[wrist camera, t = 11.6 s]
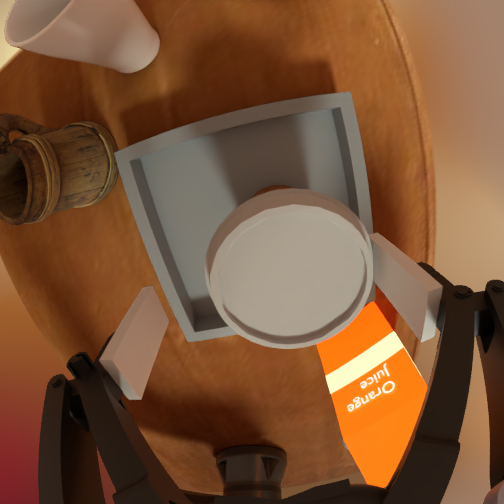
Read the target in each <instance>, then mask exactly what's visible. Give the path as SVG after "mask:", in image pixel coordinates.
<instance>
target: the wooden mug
mask: <svg viewBox="0 0 504 504" xmlns="http://www.w3.org/2000/svg"><path fill="white" fill-rule="evenodd" d="M11 131H16V132H17V133H19V134H21V135H22V136H21V137H18V138H16V139H14V140H13V142H12V144H11V143H10V140H9V137H8V133H9V132H11ZM117 151H118V148H117V145H116V143H115V141H114V139H113V137H112V136H111V135H110V133H109V132H108V131H107V130H106V129H105V128H103V127H102V126H101V125H100V124H97V123H94V122H91V121H83V122H76V123H72V124H69V125H66V126H64V127H62V128H61V129H60V130H59V129H50V128H45V127H43V126H41V125H38V124H36V123H34V122H32V121H30V120H28V119H26V118H23V117H21V116H18V115H14V114H7V113H6V114H0V218H1V219H2V220H3V221H5V222H6V223H9V224H11V225H20V224H23V223H25V224H32V223H37V222H41V221H43V220H44V219H46V218H48V217H49V215H50V214H52V213H55V212H58V211H62V210H65V209H69V208H80V207H86V206H89V205H93V204H96V203H98V202H100V201H101V200H103V199H104V198H105V197H106V196H107V195H108V194H109V193H110V191H111V190H112V188H113V186H114V184H115V183H116V181H117V176H118V172H119V169H118V166H117V162H116V159H115V155H114V153H115V152H117Z"/></svg>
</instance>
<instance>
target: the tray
mask: <svg viewBox="0 0 504 504" xmlns="http://www.w3.org/2000/svg"><path fill="white" fill-rule="evenodd" d="M114 155H115V159H116V162H117V166H118V169H119V172H120V176H121V179H122V182H123V185H124V188H125V191H126V194H127V197H128V200H129V203H130V206H131V209H132V212H133V215H134V218H135V221H136V223H137V226H138V229H139V231H140V234H141V237H142V239H143V242H144V245H145V247H146V250H147V252H148V255H149V257H150V260H151V262H152V265H153V267H154V269H155V272H156V274H157V277H158V279H159V281H160V284H161V286H162V288H163V290H164V293H165V295H166V297H167V299H168V302H169V304H170V306H171V308H172V310H173V312H174V314H175V317H176V319H177V321H178V323H179V325H180V327H181V329H182V331H183V333H184V335H185V337H186V339H187V341H188V342H194V341H200V340H207V339H213V338H219V337H225V336H230V335H236V334H237V333H236V332H235V331H234V330H233V329H232V328H231V327H230V326H228V325H227V324H226V323H225V321H224V320H223V319H222V317H221V316H220V315H219V313H218V311H217V309H216V307H215V305H214V302H213V300H212V298H211V296H210V294H209V291H208V287H207V284H206V278H205V258H206V254H207V250H208V247H209V243H210V241H211V239H212V237H213V235H214V233H215V232H216V230H217V228H218V227H219V225H220V224H221V223H222V222H223V221H224V220H225V219H226V217H227V216H228V215H229V214H230V213H231V212H232V211H233V210H234V209H236V208H237V207H239V206H240V205H241V204H243V203H244V202H246V201H248V200H250V199H251V198H252V197H253V196H254V195H255V194H256V193H257V192H258V191H260V190H261V189H263V188H266V187H268V186H272V185H286V186H290V187H293V188H295V189H309V190H312V191H315V192H319V193H322V194H326V195H329V196H331V197H333V198H334V199H336V200H338V201H340V202H341V203H343V204H344V205H346V206H347V207H348V208H349V209H350V210H351V211H352V212H354V213H355V214H356V216H357V217H358V218H359V220H360V221H361V222H362V224H363V225H364V227H365V229H366V231H367V233H368V235H370V234H373V223H372V212H371V203H370V194H369V186H368V179H367V172H366V165H365V159H364V153H363V147H362V142H361V137H360V132H359V127H358V122H357V117H356V113H355V109H354V104H353V100H352V96H351V92H342V93H332V94H324V95H316V96H309V97H302V98H296V99H290V100H284V101H279V102H273V103H268V104H264V105H259V106H254V107H250V108H246V109H241V110H237V111H233V112H229V113H226V114H222V115H218V116H215V117H211V118H208V119H204V120H201V121H198V122H194V123H191V124H188V125H185V126H182V127H179V128H176V129H173V130H170V131H167V132H164V133H162V134H159V135H156V136H154V137H151V138H148V139H146V140H143V141H141V142H138V143H136V144H133V145H131V146H128V147H126V148H124V149H121V150H119V151H117V152H115V153H114ZM373 301H376V284H375V282H374V281H373V282H372V287H371V290H370V293H369V296H368V298H367V301H366V303H370V302H373ZM366 303H365V304H366Z"/></svg>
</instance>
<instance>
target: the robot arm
mask: <svg viewBox="0 0 504 504" xmlns="http://www.w3.org/2000/svg"><path fill="white" fill-rule="evenodd" d="M369 238H370V241H371V245H372V249H373V263H374V265H373V273H374V274H373V281H374V282H375V284H376V285H377V286H378V287H379V289H380V290H381V291H382V292H383V293H384V295H385V296H386V297H387V298H388V300H389V301H390V302H391V304H392V305H393V306H394V307H395V309H396V310H397V311H398V313H399V314H400V315H401V316H402V318H403V319H404V320H405V322H406V323H407V324H408V326H409V327H410V328H411V330H412V331H413V332H414V334H415V335H416V336H417V338H418V339H419V341H420V342H424V341H426V340H428V339H431V338H433V337H434V335H435V330H436V327H437V328H438V329H439V331H440V332H441V333H440V338H439V342H438V345H437V352H436V356H435V361H434V365H433V369H432V373H431V377H430V381H429V384H428V388H427V391H426V394H425V398H424V401H423V404H422V407H421V410H420V413H419V416H418V419H417V421H416V424H415V427H414V429H413V432H412V435H411V437H410V440H409V442H408V444H407V447H406V449H405V451H404V454H403V456H402V458H401V460H400V462H399V464H398V466H397V468H396V470H395V472H394V474H393V476H392V478H391V479H390V481H389V483H388V485H387V487H386V489H384V488H382V487H379V486H375V485H369V484H350V482H349V479H345V480H341V481H338V482H334V483H329V484H325V485H321V486H316V487H313V488H311V489H309V490H306V491H304V492H301V493H298V494H296V495H293V496H291V497H288V498H285V499H282V495H281V483H282V480H283V477H284V473H285V470H286V467H287V456H286V453H285V452H283V451H282V450H280V449H277V448H273V447H267V446H239V447H233V448H228V449H225V450H223V451H221V452H219V453H218V454H217V456H216V466H217V469H218V472H219V475H220V478H221V481H222V484H223V496H219V495H212V494H204V493H197V492H192V491H186V490H181V489H179V487H178V486H177V485H176V484H175V482H174V481H173V480H172V478H171V477H170V476H169V474H168V473H167V471H166V470H165V469H164V467H163V466H162V464H161V463H160V461H159V460H158V459H157V457H156V456H155V454H154V453H153V451H152V449H151V448H150V446H149V445H148V443H147V442H146V440H145V438H144V437H143V435H142V433H141V432H140V430H139V428H138V427H137V425H136V423H135V421H134V420H133V418H132V416H131V414H130V412H129V410H128V409H127V407H126V405H125V403H124V401H123V400H122V399H121V395H122V393H124V394H125V396H126V397H127V398H128V399H129V400H141V399H142V396H143V393H144V390H145V387H146V384H147V381H148V378H149V375H150V372H151V370H152V367H153V364H154V361H155V358H156V355H157V353H158V350H159V347H160V344H161V342H162V339H163V336H164V334H165V331H166V328H167V326H168V323H169V320H168V318H167V316H166V314H165V311H164V309H163V307H162V305H161V303H160V301H159V298H158V296H157V294H156V292H155V290H154V287H153V286H148V287H144V288H142V289H141V291H140V292H139V294H138V295H137V297H136V299H135V300H134V302H133V303H132V305H131V307H130V308H129V310H128V311H127V313H126V315H125V316H124V318H123V320H122V321H121V323H120V325H119V326H118V328H117V330H116V332H114V333H113V334H112V335H111V336H110V337H109V338H108V339H107V341H106V342H105V345H104V346H103V348H102V350H101V351H100V353H99V355H98V356H97V358H96V360H95V362H94V363H93V361H92V360H91V358H90V357H89V355H88V354H87V353H86V352H80V353H77V354H75V355H74V356H72V357H71V358H70V360H69V361H68V363H67V368H68V369H69V371H70V372H71V373H72V375H73V376H74V377H75V379H73V380H69V381H68V380H67V379H66V377H65V376H64V375H63V374H59V375H56V376H54V377H53V378H51V380H50V381H49V383H48V385H47V390H46V396H45V401H44V408H43V415H42V423H41V432H40V433H41V434H40V444H39V465H38V466H39V468H38V480H39V481H38V485H39V504H106V502H105V498H104V493H103V488H102V482H101V477H100V470H99V464H98V456H97V448H98V451H99V453H100V456H101V458H102V461H103V463H104V465H105V467H106V470H107V472H108V474H109V476H110V478H111V480H112V483H113V485H114V486H115V489H116V493H114V494H113V500H114V503H115V504H440V503H441V500H442V498H443V496H444V493H445V491H446V489H447V486H448V484H449V480H450V478H451V476H452V473H453V470H454V467H455V464H456V461H457V458H458V454H459V451H460V443H459V442H458V439H459V435H460V431H461V427H462V422H463V418H464V414H465V409H466V404H467V398H468V393H469V385H470V379H471V371H472V361H473V350H474V337H475V336H476V339H477V344H478V348H479V353H480V358H481V363H482V368H483V373H484V379H485V386H486V393H487V402H488V411H489V427H490V485H491V490H490V492H489V493H488V494H487V496H486V497H485V500H484V503H483V504H504V282H503V281H501V280H491V281H489V282H487V284H486V288H485V291H481V292H475V293H474V292H473V291H472V290H471V288H468V287H467V286H463V285H456V286H454V285H453V284H452V283H450V282H449V281H448V280H447V279H446V278H445V277H443V276H442V275H440V273H439V272H437V271H435V269H434V268H433V267H431V266H430V265H428V264H425V263H423V262H420V263H415V262H414V261H413V260H412V259H411V258H409V257H408V256H407V255H406V254H404V253H403V252H402V251H401V250H399V249H398V248H397V247H396V246H394V245H393V244H392V243H391V242H389V241H388V240H387V239H386V238H384V237H383V236H382V235H380V234H379V233H374V234H370V235H369ZM96 446H97V447H96Z"/></svg>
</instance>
